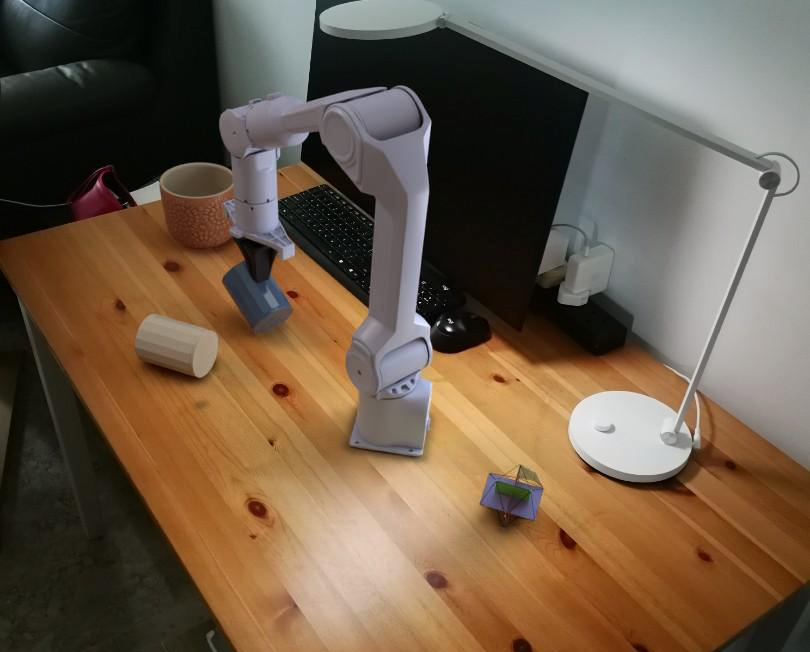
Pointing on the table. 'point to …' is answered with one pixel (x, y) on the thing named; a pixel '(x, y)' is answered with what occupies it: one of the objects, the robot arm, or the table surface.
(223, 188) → the planter
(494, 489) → the geometric puzzle
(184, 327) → the cream cup
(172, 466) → the table surface
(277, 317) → the blue cup
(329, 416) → the table surface
